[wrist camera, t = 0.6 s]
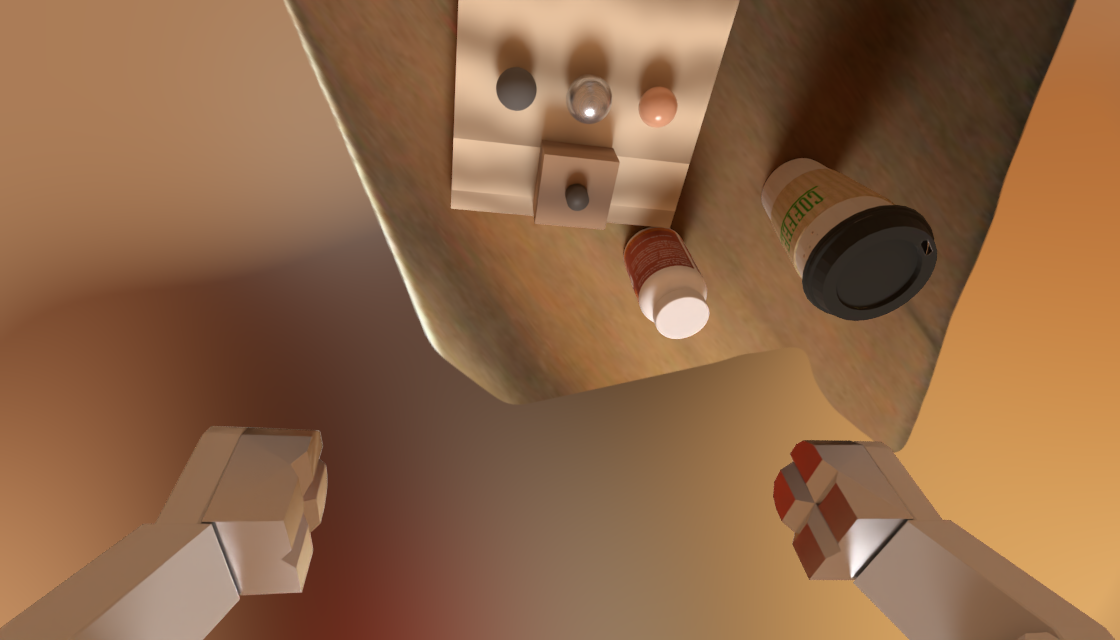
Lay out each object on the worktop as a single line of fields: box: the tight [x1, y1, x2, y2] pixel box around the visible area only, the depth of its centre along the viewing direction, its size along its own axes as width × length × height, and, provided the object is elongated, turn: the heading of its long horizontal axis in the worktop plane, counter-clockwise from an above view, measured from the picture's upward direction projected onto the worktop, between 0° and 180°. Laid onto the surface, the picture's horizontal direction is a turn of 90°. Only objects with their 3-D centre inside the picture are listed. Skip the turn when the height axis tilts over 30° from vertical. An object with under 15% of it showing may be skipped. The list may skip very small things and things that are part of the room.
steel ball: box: [566, 74, 612, 124], centre depth 42 cm, size 4×4×4 cm
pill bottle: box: [624, 227, 709, 339], centre depth 52 cm, size 6×6×11 cm
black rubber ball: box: [496, 67, 537, 111], centre depth 41 cm, size 3×3×3 cm
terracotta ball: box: [638, 86, 678, 128], centre depth 43 cm, size 3×3×3 cm
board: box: [451, 0, 739, 228], centre depth 45 cm, size 20×20×2 cm
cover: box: [533, 140, 620, 230], centre depth 46 cm, size 6×6×4 cm
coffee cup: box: [762, 158, 937, 321], centre depth 47 cm, size 10×10×15 cm
